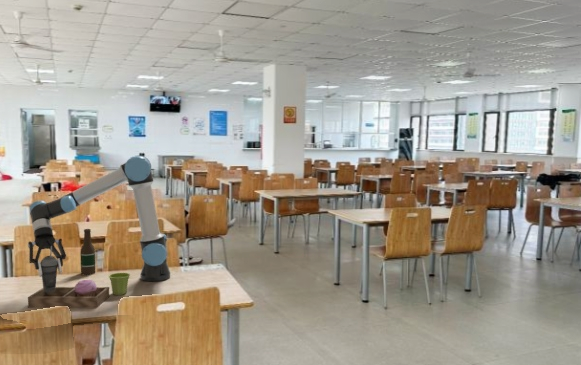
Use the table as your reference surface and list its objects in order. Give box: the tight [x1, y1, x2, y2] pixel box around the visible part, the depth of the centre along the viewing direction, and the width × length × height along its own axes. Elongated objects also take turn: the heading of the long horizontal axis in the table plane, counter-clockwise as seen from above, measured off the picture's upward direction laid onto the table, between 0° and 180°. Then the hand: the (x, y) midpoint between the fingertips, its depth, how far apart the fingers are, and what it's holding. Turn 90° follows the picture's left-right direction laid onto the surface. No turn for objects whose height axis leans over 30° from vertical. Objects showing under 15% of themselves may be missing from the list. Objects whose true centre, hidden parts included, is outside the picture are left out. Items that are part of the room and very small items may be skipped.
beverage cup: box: [40, 246, 58, 293], centre depth 214 cm, size 7×7×20 cm
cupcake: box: [74, 279, 98, 297], centre depth 216 cm, size 9×9×10 cm
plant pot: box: [108, 272, 131, 296], centre depth 229 cm, size 9×9×9 cm
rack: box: [27, 286, 110, 309], centre depth 216 cm, size 29×15×4 cm, turn 91°
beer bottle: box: [79, 228, 96, 276], centre depth 263 cm, size 8×8×24 cm
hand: (50, 273), depth 211 cm, fingers closed on beverage cup, 7 cm apart
